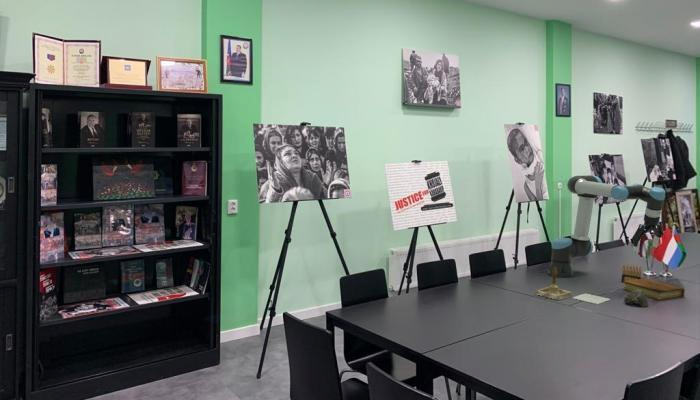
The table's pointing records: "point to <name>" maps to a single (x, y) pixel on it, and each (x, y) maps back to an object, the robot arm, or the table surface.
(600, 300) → the mat
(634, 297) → the fossil
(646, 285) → the diary
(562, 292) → the bell cradle
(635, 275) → the ammunition clip
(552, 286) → the hand bell
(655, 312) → the table surface
